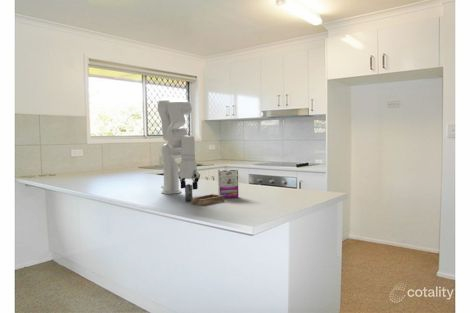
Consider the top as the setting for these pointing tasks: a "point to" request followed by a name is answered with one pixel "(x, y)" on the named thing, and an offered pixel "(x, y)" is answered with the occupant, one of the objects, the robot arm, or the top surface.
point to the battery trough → (207, 199)
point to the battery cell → (188, 193)
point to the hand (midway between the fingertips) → (189, 188)
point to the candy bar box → (228, 183)
